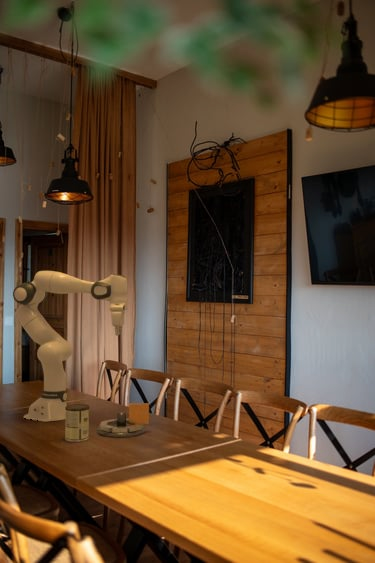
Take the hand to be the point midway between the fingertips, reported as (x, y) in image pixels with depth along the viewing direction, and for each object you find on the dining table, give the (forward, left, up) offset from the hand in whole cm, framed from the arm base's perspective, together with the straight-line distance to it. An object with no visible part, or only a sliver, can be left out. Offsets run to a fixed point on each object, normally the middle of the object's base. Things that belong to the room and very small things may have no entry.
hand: (118, 334), depth 267 cm
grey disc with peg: (+9, -16, -43) cm, 47 cm away
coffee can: (-4, -34, -43) cm, 55 cm away
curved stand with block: (+11, -15, -41) cm, 45 cm away
